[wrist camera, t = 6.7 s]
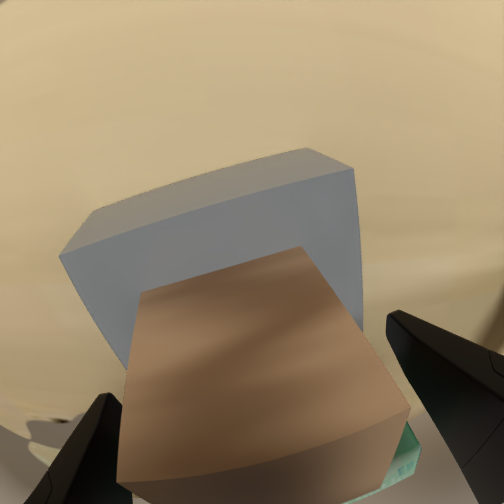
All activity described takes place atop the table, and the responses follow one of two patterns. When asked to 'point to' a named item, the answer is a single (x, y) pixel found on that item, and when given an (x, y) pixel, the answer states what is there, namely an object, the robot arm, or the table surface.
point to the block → (255, 392)
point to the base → (217, 234)
